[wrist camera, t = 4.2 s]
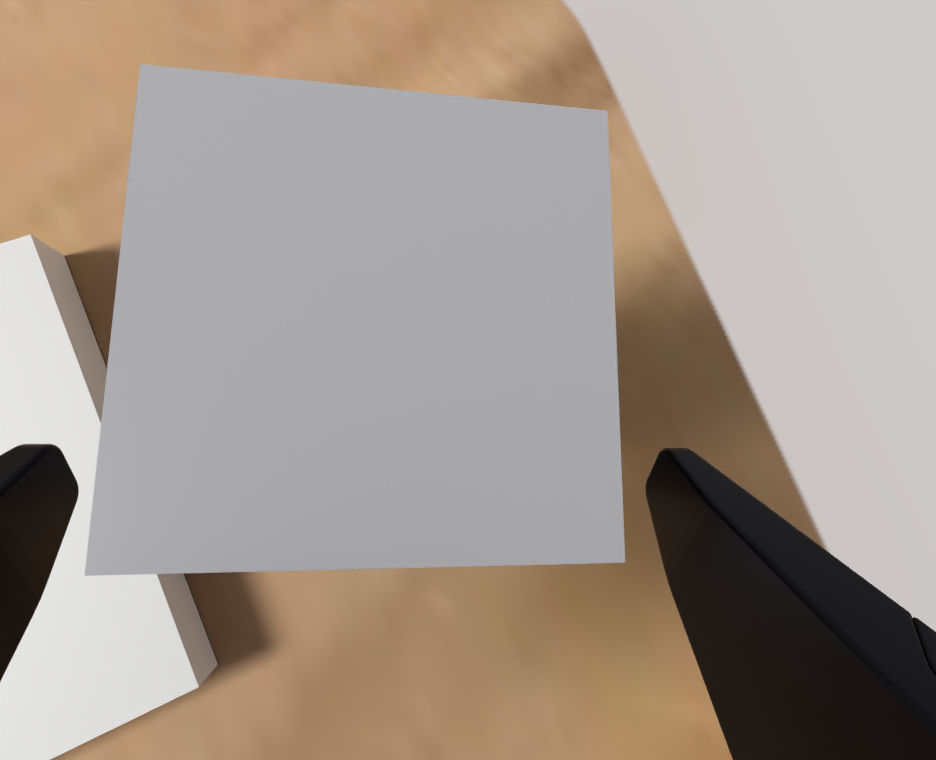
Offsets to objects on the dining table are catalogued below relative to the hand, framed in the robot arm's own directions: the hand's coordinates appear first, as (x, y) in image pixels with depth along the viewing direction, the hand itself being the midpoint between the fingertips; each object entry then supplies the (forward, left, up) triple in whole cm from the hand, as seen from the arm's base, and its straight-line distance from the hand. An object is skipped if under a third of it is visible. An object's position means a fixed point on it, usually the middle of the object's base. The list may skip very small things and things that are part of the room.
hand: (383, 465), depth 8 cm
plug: (+1, -1, -10) cm, 10 cm away
